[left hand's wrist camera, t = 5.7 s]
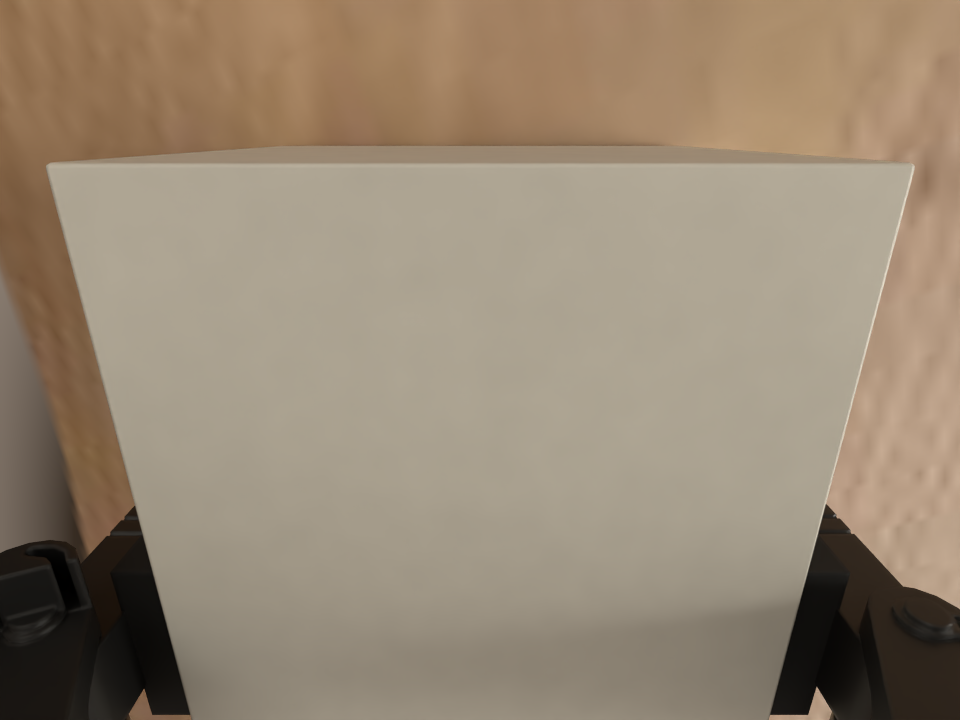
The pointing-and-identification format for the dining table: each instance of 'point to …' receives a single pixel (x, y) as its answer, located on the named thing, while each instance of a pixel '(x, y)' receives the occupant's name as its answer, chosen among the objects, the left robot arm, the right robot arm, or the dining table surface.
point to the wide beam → (480, 415)
